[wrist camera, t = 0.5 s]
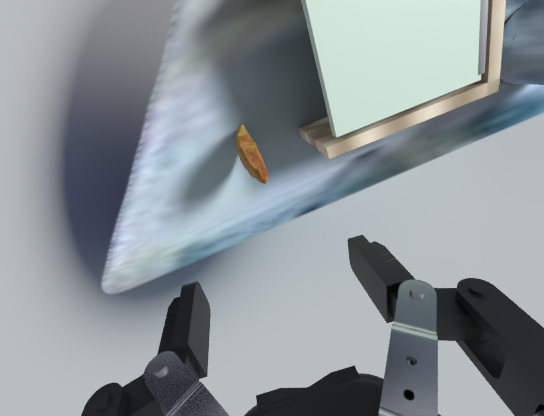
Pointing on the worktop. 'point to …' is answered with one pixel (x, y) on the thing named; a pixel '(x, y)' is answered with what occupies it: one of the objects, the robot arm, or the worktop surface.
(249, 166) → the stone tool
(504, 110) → the worktop surface
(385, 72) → the trapdoor
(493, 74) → the trapdoor frame
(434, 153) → the worktop surface
